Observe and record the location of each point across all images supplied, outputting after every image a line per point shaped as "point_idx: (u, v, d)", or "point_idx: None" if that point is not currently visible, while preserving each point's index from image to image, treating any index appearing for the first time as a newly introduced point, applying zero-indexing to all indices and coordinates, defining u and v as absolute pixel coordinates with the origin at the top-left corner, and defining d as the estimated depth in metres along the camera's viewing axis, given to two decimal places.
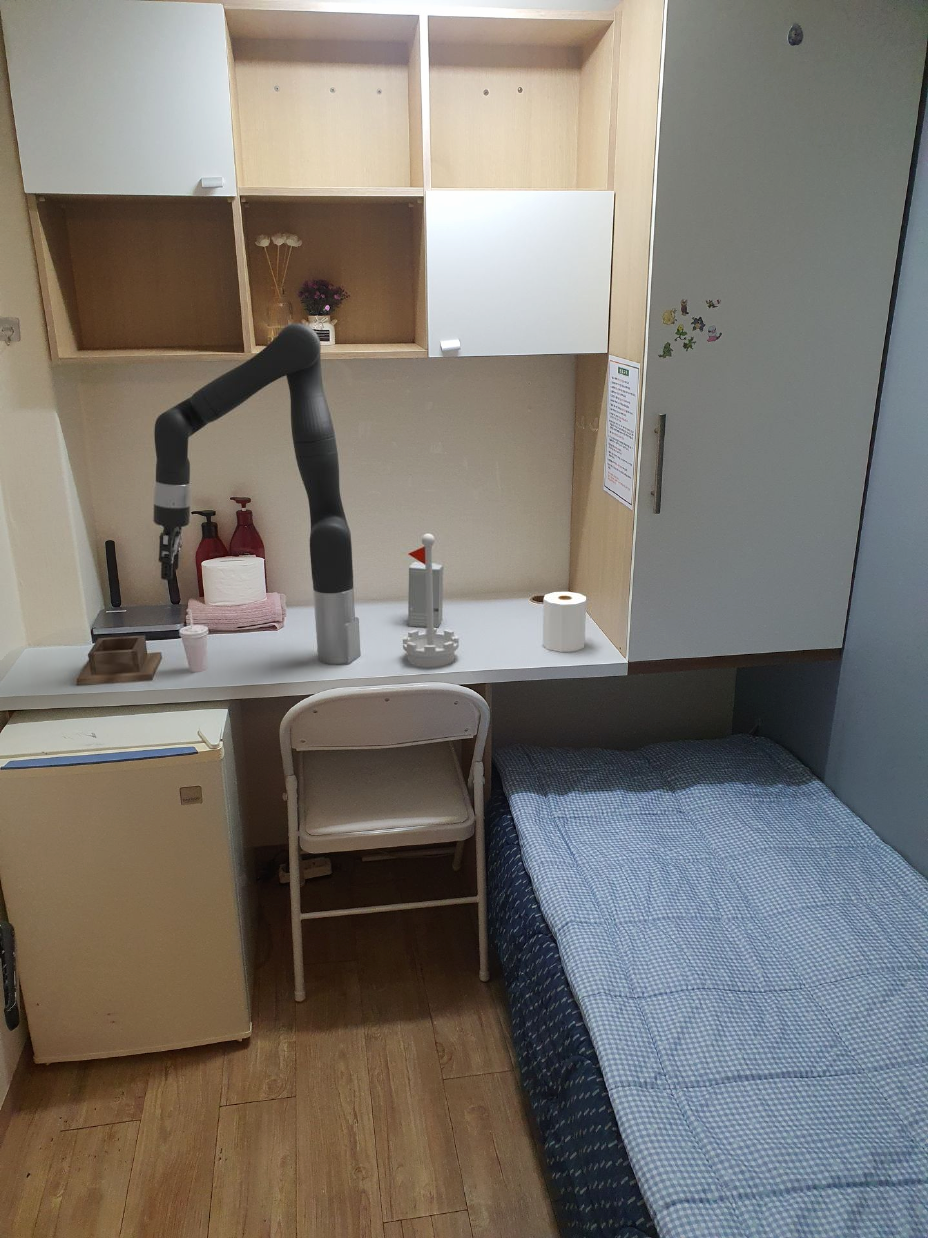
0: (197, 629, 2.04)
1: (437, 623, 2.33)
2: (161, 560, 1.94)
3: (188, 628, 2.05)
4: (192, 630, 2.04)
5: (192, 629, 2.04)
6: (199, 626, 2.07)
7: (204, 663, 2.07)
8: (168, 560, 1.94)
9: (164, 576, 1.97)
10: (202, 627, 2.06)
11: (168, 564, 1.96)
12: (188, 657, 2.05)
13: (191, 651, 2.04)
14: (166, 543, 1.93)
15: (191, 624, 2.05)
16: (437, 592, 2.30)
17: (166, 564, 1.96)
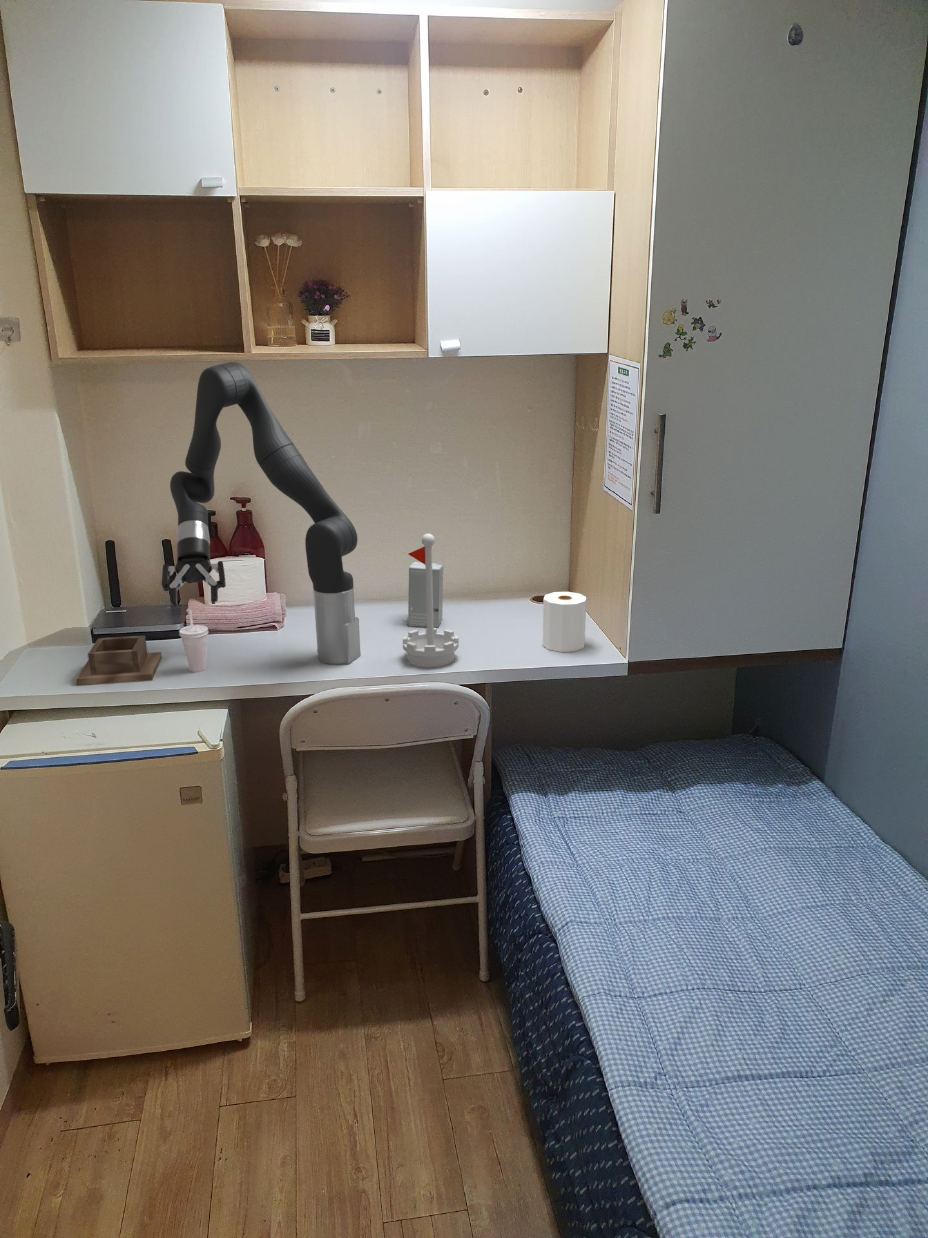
0: (197, 629, 2.04)
1: (437, 623, 2.33)
2: (163, 588, 2.12)
3: (188, 628, 2.05)
4: (192, 630, 2.04)
5: (192, 629, 2.04)
6: (199, 626, 2.07)
7: (204, 663, 2.07)
8: None
9: (171, 602, 2.10)
10: (202, 627, 2.06)
11: (169, 590, 2.10)
12: (188, 657, 2.05)
13: (191, 651, 2.04)
14: (163, 572, 2.12)
15: (191, 624, 2.05)
16: (437, 592, 2.30)
17: (170, 591, 2.11)
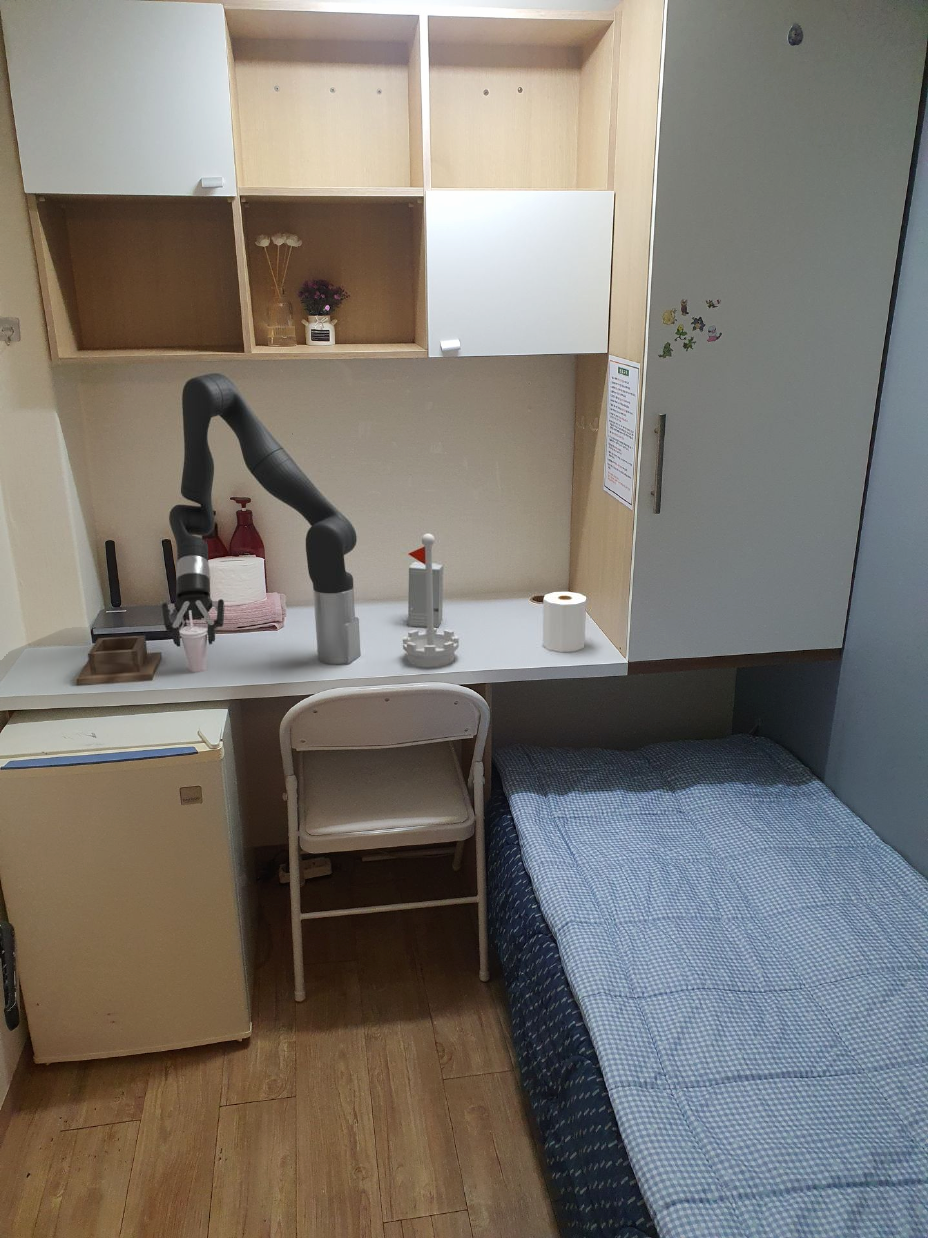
0: (197, 629, 2.04)
1: (437, 623, 2.33)
2: (165, 627, 2.06)
3: (188, 628, 2.05)
4: (192, 630, 2.04)
5: (192, 629, 2.04)
6: (199, 626, 2.07)
7: (204, 663, 2.07)
8: (164, 624, 2.04)
9: None
10: (202, 627, 2.06)
11: (173, 630, 2.04)
12: (188, 657, 2.05)
13: (191, 651, 2.04)
14: (163, 611, 2.06)
15: (191, 624, 2.05)
16: (437, 592, 2.30)
17: (172, 630, 2.05)
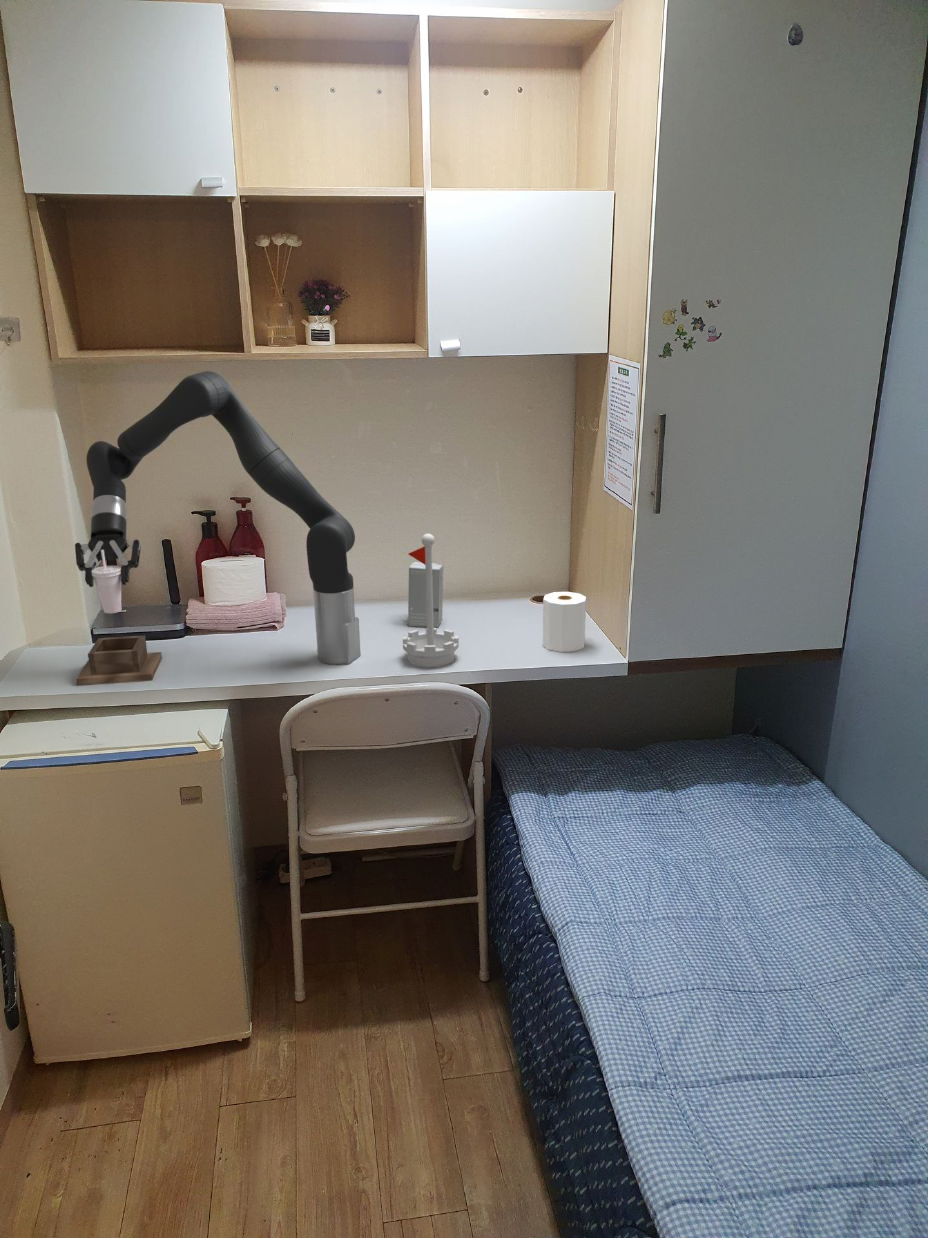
0: (110, 569, 1.99)
1: (437, 623, 2.33)
2: None
3: (101, 568, 2.00)
4: (104, 570, 1.99)
5: (105, 569, 1.99)
6: (113, 566, 2.02)
7: (118, 604, 2.01)
8: (77, 564, 1.99)
9: (86, 582, 1.99)
10: (116, 567, 2.01)
11: (85, 570, 1.99)
12: (101, 598, 2.00)
13: (104, 592, 1.99)
14: None
15: (104, 564, 1.99)
16: (437, 592, 2.30)
17: None
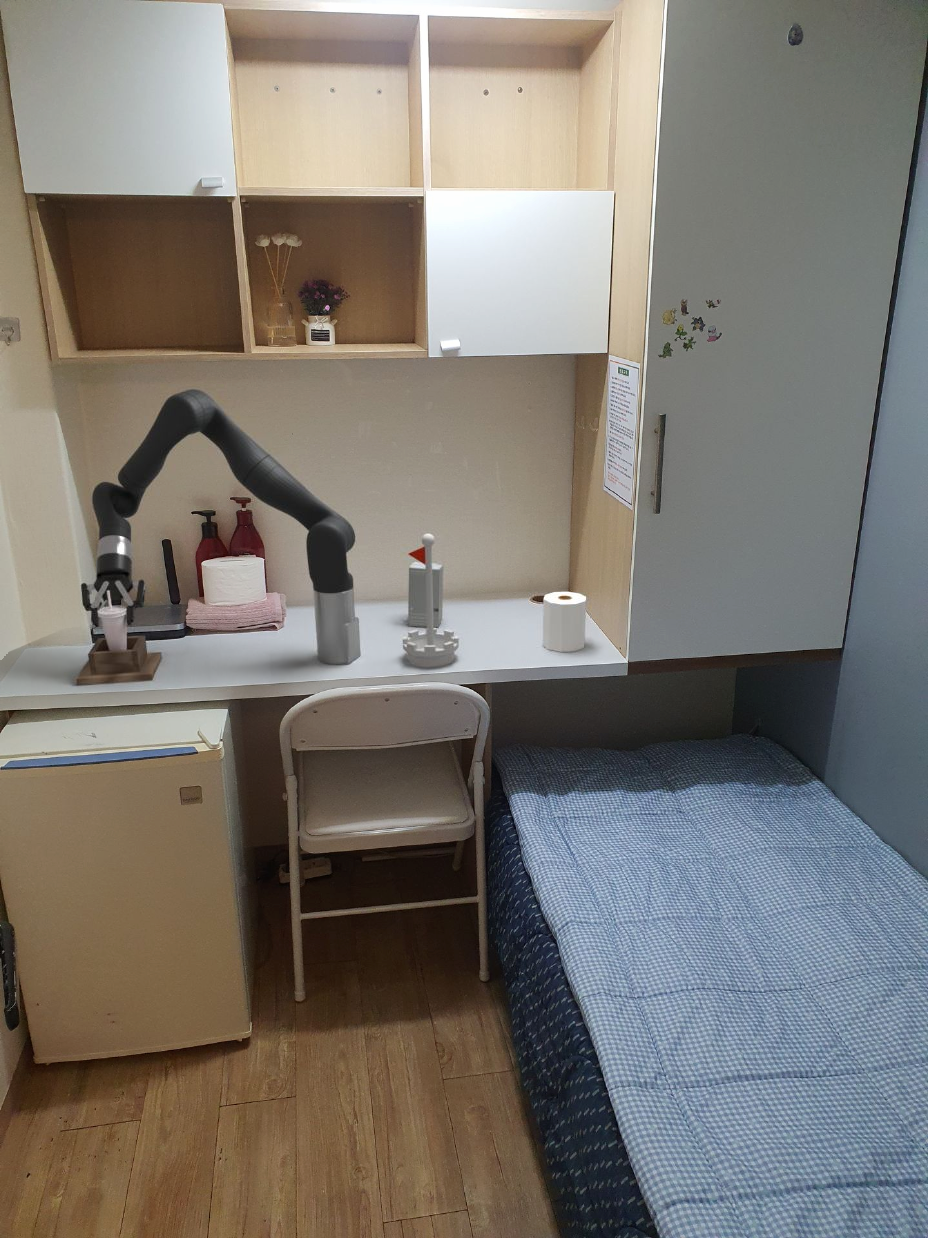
0: (115, 609, 2.02)
1: (437, 623, 2.33)
2: None
3: (107, 608, 2.03)
4: (110, 610, 2.02)
5: (110, 609, 2.02)
6: (118, 606, 2.05)
7: (124, 644, 2.04)
8: (83, 605, 2.02)
9: None
10: (121, 607, 2.04)
11: (91, 610, 2.02)
12: (107, 638, 2.03)
13: (109, 632, 2.02)
14: None
15: (109, 604, 2.02)
16: (437, 592, 2.30)
17: None
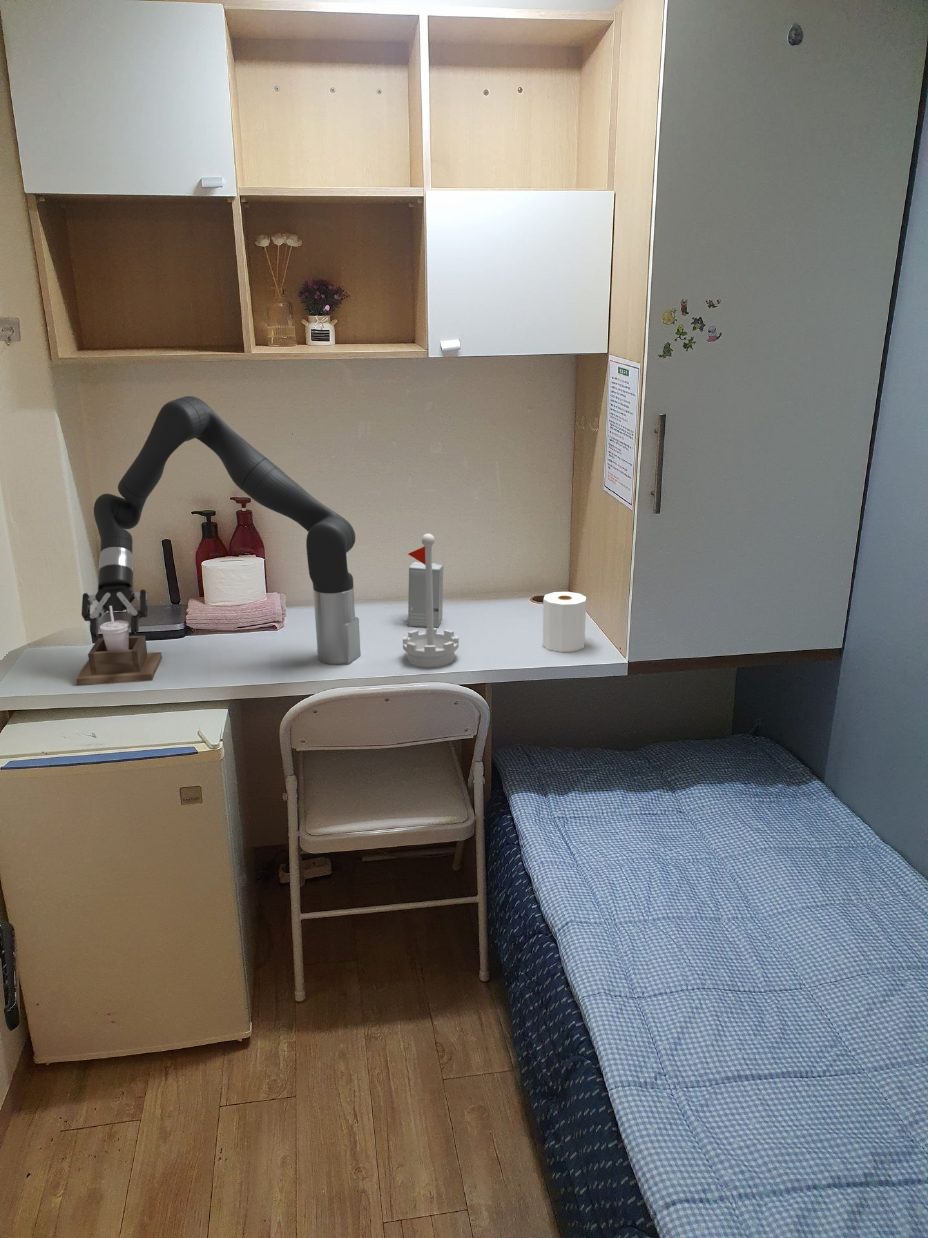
0: (118, 625, 2.03)
1: (437, 623, 2.33)
2: None
3: (109, 623, 2.04)
4: (113, 626, 2.03)
5: (113, 625, 2.03)
6: (121, 621, 2.06)
7: None
8: None
9: (91, 633, 2.03)
10: (124, 622, 2.05)
11: (90, 620, 2.03)
12: None
13: (112, 647, 2.03)
14: None
15: (112, 619, 2.03)
16: (437, 592, 2.30)
17: None
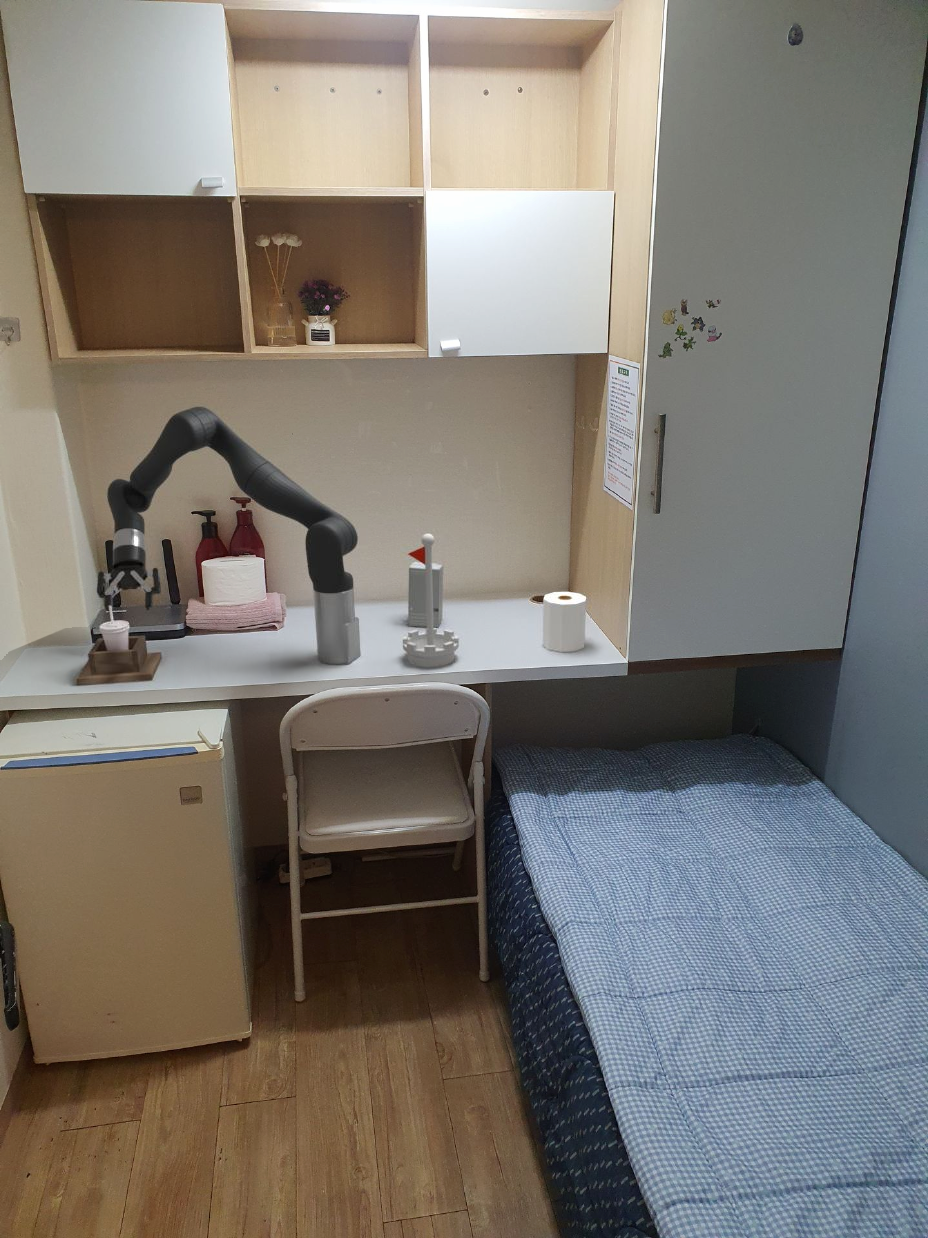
0: (117, 624, 2.03)
1: (437, 623, 2.33)
2: None
3: (109, 623, 2.04)
4: (112, 625, 2.03)
5: (112, 624, 2.03)
6: (120, 621, 2.06)
7: None
8: None
9: (106, 609, 2.14)
10: (123, 622, 2.05)
11: (105, 597, 2.15)
12: None
13: (111, 647, 2.03)
14: None
15: (111, 619, 2.04)
16: (437, 592, 2.30)
17: (105, 598, 2.15)
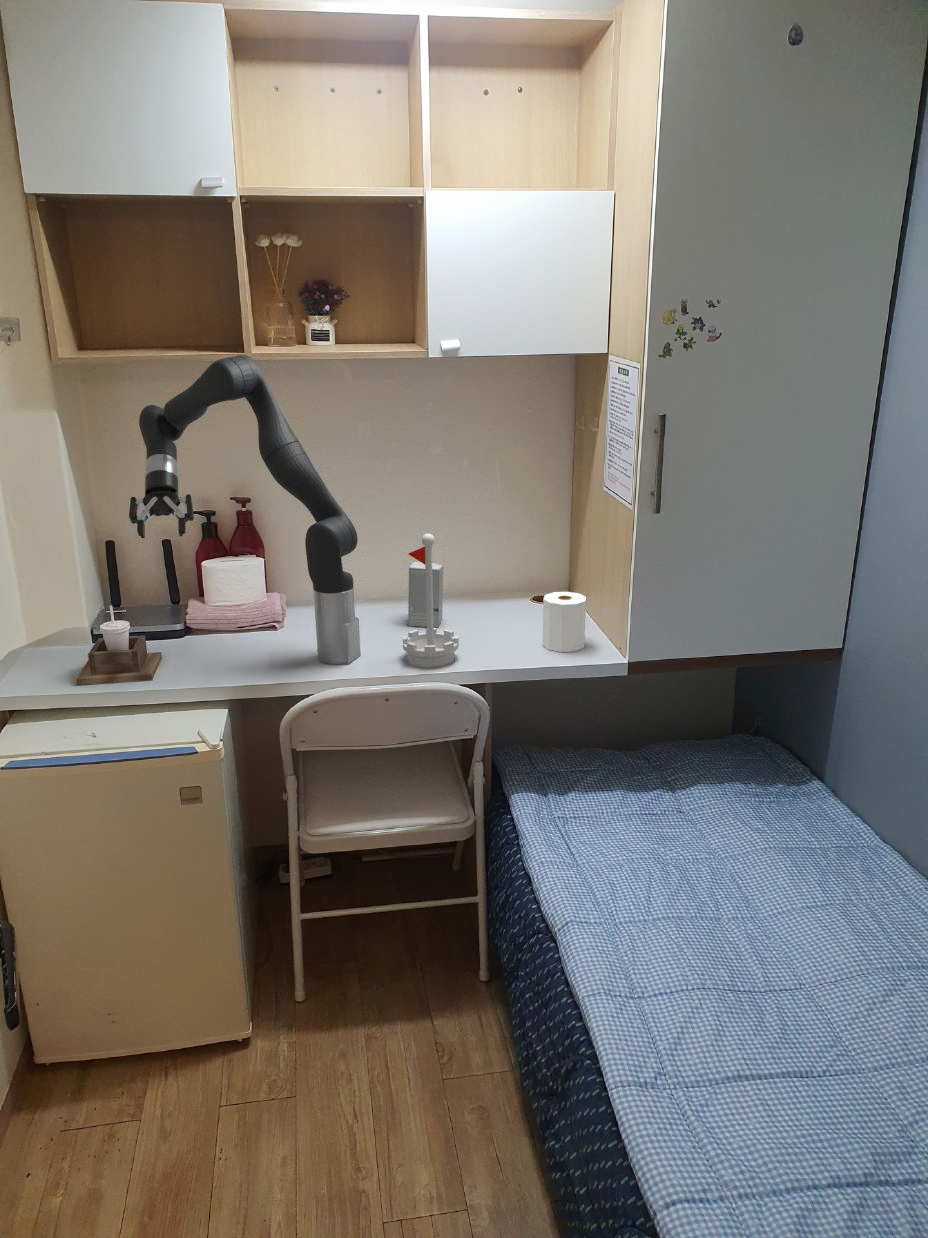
0: (118, 624, 2.03)
1: (437, 623, 2.33)
2: (130, 520, 2.11)
3: (109, 623, 2.04)
4: (113, 625, 2.03)
5: (113, 624, 2.03)
6: (121, 621, 2.06)
7: None
8: (129, 516, 2.10)
9: (138, 534, 2.10)
10: (124, 622, 2.05)
11: (137, 522, 2.10)
12: None
13: (112, 647, 2.03)
14: None
15: (112, 619, 2.04)
16: (437, 592, 2.30)
17: None
